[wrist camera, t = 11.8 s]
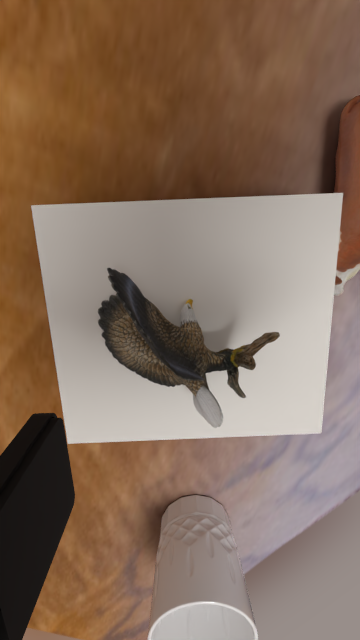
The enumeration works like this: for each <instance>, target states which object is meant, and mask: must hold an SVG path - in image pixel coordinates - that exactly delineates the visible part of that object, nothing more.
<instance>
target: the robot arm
mask: <svg viewBox="0 0 360 640" xmlns="http://www.w3.org/2000/svg"><path fill="white" fill-rule="evenodd" d="M74 499H75V492H74V486H73V480H72V473H71V467H70V461H69V455H68V449H67V442H66V436H65V430H64V424H63V420H62V419H61V418H57V416H56V414H55V413H39V414H33V415H32V416H31V417H30V418H29V420H28V421H27V422H26V424H25V425H24V426H23V427H22V429H21V430H20V431H19V433H18V434H17V435H16V436H15V438H14V439H13V440H12V442H11V443H10V444H9V445H8V447H7V448H6V449H5V451H4V452H3V453H2V454H1V456H0V640H22V638H23V636H24V633H25V630H26V628H27V625H28V623H29V620H30V618H31V615H32V612H33V610H34V607H35V605H36V602H37V599H38V597H39V594H40V591H41V589H42V586H43V584H44V581H45V578H46V576H47V573H48V571H49V568H50V565H51V563H52V560H53V558H54V555H55V552H56V550H57V547H58V545H59V542H60V539H61V537H62V534H63V532H64V529H65V526H66V524H67V521H68V519H69V516H70V513H71V511H72V508H73V505H74Z"/></svg>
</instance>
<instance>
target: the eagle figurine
mask: <svg viewBox="0 0 360 640" xmlns="http://www.w3.org/2000/svg"><path fill="white" fill-rule="evenodd" d="M107 271H108V273H109V276H108V279H109V281H110V282H111V286H112V288H113V289H114V290H115V291H116V292H117V293H116V295H111V296H110V297H109V301H108V300H104V301H102V302H101V305H102V307H100V308H99V309H98V314H99V316H100V319H99V320H98V324H99V326H100V327H101V329H102V330H104V332H103V333H102V337H103V338H104V339H105V346H106V347H107V348H108V350H109V351H110V352H111V353H112V355H113V357H114V358H115V359H117V360H118V362H119V363H120V364H122V365H124V366H125V367H126V368H128V369H129V370H130V371H133V372H135V373H136V374H138V375H140V376H141V377H143V378H146V379H148V380H149V381H151V382H153V383H157V384H160V385H165V386H167V387H170V386H172V387H175V385H177V386H179V385H181V384H182V385H185V386H186V387H187V388H188V389H189V390H190V391H191V392H192V393H193V403H194V406H195V408H196V410H197V411H198V412H199V414H201V416H203V417H204V419H205V420H206V421H207V422H208V423H209V424H211V426H212V427H214V428H217V427H220V426H221V424H222V422H223V413H222V410H221V408H220V405H219V403H218V402H217V400H216V398H215V397H214V395H213V394H212V393H211V391H210V390H209V387H208V384H207V379H206V373H211V372H213V371H224V370H227V374H228V380H227V384H228V385H229V386H230V388H232V389H233V390H234V391H235V393H236V394H237V395H238V396H239V397H241V398H246V395H245V394H244V392H243V391H242V390H241V388H240V386H239V383H238V379H239V371H238V367H239V366H240V367H243V368H246V369H248V370H253V369H255V367H256V363H255V360H254V358H253V356H254V355H255V354H256V353H257V352H258V351H259V350H260V349H261V348H262V347H264V346H265V345H266V344H268V343H271V342H273V341H275V340H276V339H278V338H279V336H280V334H279V332H270V333H264V334H263V335H262V336H261V337H259V338H258V339H256V340H254V341H253V342H252V343H251V344H248V345H243V346H241V347H239V348H236V349H229V348H226V349H224V350H221V351H219V352H214V351H211V350H209V349H208V348H207V347H206V346H205V344H204V337H203V334H202V330H201V328H200V326H199V324H198V321H197V319H196V317H195V314H194V310H193V308H192V303H193V300H192V299H189V300H187V302H186V303H185V305H184V306H183V308H182V310H181V313H180V327H178V326H176V325H174V324H172V323H171V322H169V321H168V320H167V319H166V318H165V317H164V316H163V314H162V313H161V312H160V311H159V309H158V308H157V307H156V306H155V305H154V304H153V303H152V302H150V301H149V300H148V299H146V298H145V297H144V296H143V294H142V292H141V291H140V289H139V288H138V287H137V285H136V284H135V283H134V282H133V281H132V280H131V279H130V278H129V277H128V276H127V275H126V274H124V273H120V272H118V271H117V270H115V269H113V270H112V269H111V268H107Z"/></svg>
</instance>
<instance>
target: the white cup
mask: <svg viewBox="0 0 360 640" xmlns="http://www.w3.org/2000/svg"><path fill="white" fill-rule="evenodd" d="M148 640H258V633H257V628H256V624H255V620H254V617H253V612H252V608H251V604H250V599H249V595H248V591H247V587H246V582H245V578H244V574H243V569H242V565H241V562H240V558H239V555H238V550H237V546H236V543H235V540H234V537H233V534H232V529H231V525H230V521H229V517H228V515H227V513H226V511H225V509H224V507H223V506H222V505H221V504H220V503H218V502H217V501H215V500H214V499H212V498H210V497H205V496H200V495H192V496H186V497H181V498H179V499H178V500H176V501H175V502H173V503H172V504H170V505H169V506H168V508H167V509H166V511H165V513H164V514H163V516H162V521H161V533H160V542H159V546H158V550H157V558H156V565H155V573H154V583H153V593H152V603H151V612H150V622H149V631H148Z"/></svg>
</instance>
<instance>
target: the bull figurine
mask: <svg viewBox="0 0 360 640" xmlns="http://www.w3.org/2000/svg"><path fill="white" fill-rule="evenodd" d="M334 193H343V201H342V212H341V223H340V234H339V245H338V256H337V267H336V278H335V289H334V296H335V295H341V294H342V293H343V291H344V289H343V286H344V283H345V282H346V281H348V280H349V279H351V278H352V277H353V276H355V275H356V273H357V272H358V271H359V270H360V95H359V96H356V97H354V98H353V99H352V100H350V101H349V102H348V103H347V105H346V106H345V107H344V109H343V111H342V113H341V117H340V130H339V141H338V148H337V153H336V180H335V189H334Z"/></svg>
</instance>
